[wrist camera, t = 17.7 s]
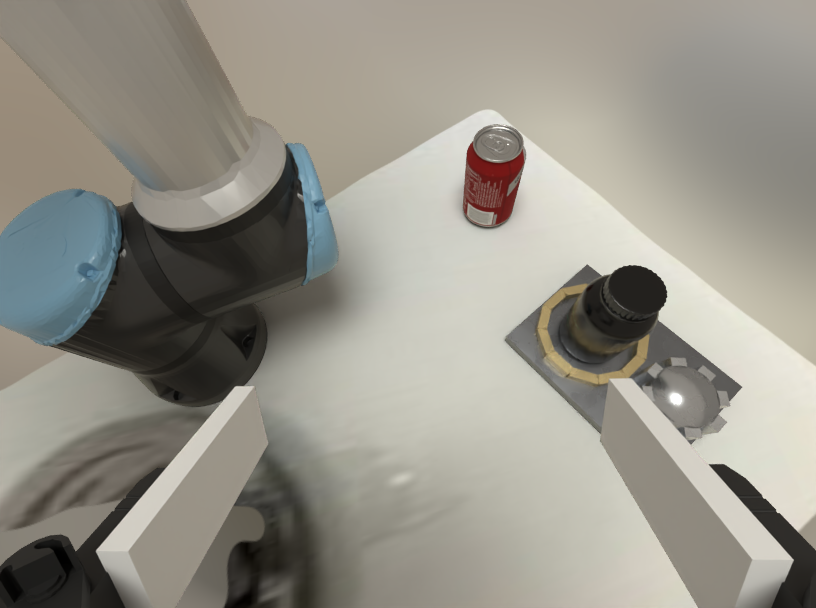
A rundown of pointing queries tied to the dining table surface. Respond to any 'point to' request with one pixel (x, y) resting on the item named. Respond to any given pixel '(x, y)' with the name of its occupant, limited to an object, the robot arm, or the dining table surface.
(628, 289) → the supplement bottle
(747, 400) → the dining table surface
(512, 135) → the soda can
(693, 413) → the carrier
